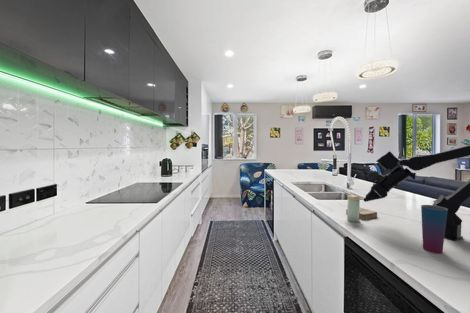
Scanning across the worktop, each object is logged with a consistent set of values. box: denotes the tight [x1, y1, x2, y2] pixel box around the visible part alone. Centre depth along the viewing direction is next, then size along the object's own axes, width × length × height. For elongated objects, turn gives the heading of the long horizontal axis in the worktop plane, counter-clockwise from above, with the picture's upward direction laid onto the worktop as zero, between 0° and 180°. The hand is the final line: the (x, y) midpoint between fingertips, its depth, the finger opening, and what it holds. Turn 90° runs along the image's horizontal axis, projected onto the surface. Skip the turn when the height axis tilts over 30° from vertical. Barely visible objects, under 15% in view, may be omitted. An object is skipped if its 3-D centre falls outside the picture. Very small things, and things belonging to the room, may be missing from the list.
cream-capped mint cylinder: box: [346, 194, 361, 223], centre depth 107 cm, size 5×5×12 cm
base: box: [345, 207, 378, 220], centre depth 115 cm, size 10×10×2 cm
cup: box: [420, 204, 448, 254], centre depth 76 cm, size 7×7×15 cm
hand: (365, 198), depth 104 cm, fingers open, 9 cm apart
